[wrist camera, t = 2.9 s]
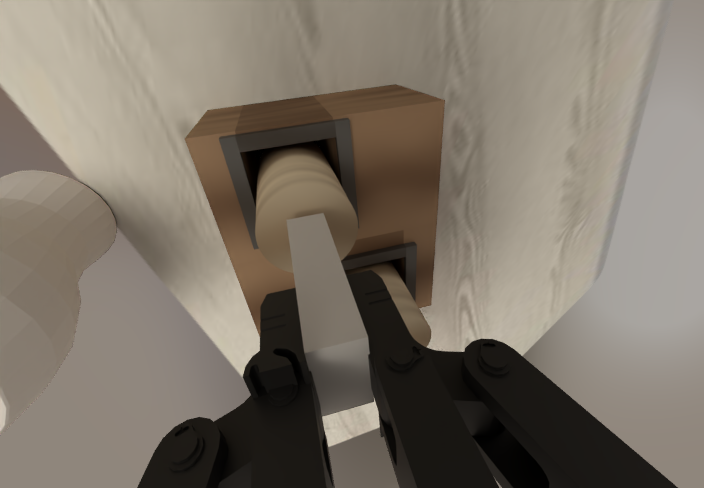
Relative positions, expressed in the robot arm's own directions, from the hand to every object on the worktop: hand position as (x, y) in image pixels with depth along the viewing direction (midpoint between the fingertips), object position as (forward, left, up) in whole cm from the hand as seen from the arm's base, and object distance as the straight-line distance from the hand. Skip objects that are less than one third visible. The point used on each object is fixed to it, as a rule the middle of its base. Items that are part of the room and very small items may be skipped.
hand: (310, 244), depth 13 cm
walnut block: (+4, +2, -14) cm, 15 cm away
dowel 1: (0, 0, -9) cm, 9 cm away
